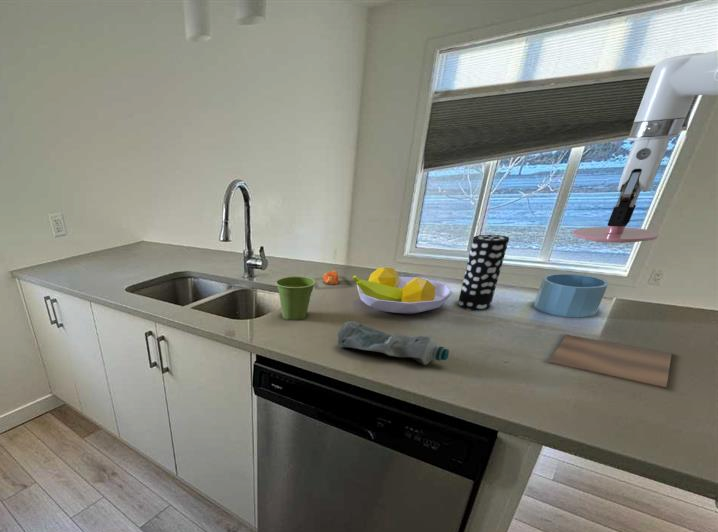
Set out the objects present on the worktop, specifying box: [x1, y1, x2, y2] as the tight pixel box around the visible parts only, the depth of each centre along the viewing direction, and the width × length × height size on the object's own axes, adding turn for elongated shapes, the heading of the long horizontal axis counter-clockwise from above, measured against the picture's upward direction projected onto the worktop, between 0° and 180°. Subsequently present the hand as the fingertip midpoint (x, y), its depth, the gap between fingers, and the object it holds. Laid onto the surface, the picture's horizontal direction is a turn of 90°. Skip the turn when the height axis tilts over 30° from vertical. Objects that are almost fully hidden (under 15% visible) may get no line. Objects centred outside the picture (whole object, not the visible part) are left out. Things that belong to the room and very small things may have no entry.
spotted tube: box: [457, 234, 510, 312], centre depth 116 cm, size 8×8×20 cm
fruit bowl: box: [352, 266, 454, 315], centre depth 123 cm, size 28×27×11 cm
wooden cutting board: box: [548, 334, 673, 389], centre depth 88 cm, size 18×18×1 cm
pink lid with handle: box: [572, 200, 661, 244], centre depth 92 cm, size 15×15×8 cm
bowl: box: [533, 273, 610, 318], centre depth 111 cm, size 14×14×8 cm
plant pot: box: [275, 275, 317, 321], centre depth 123 cm, size 12×12×11 cm
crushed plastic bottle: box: [337, 320, 450, 366], centre depth 97 cm, size 13×7×25 cm
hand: (618, 223), depth 92 cm, fingers closed on pink lid with handle, 2 cm apart
